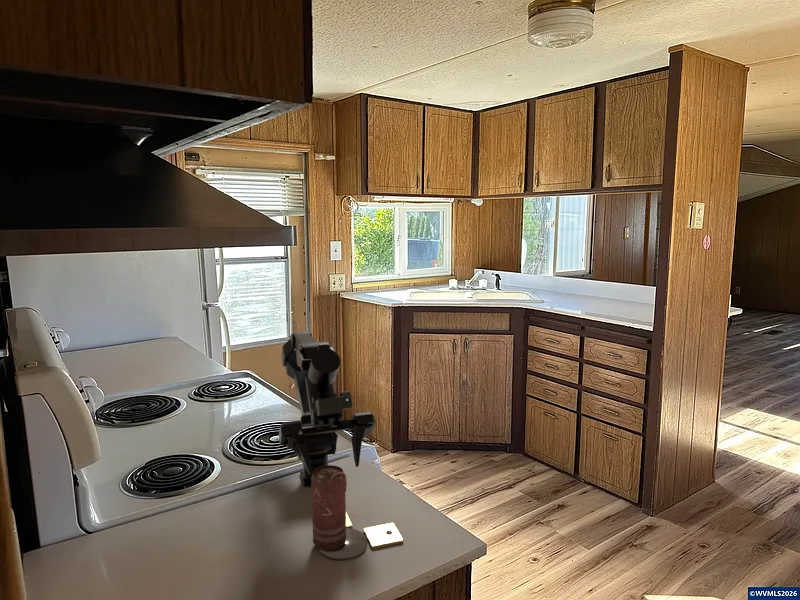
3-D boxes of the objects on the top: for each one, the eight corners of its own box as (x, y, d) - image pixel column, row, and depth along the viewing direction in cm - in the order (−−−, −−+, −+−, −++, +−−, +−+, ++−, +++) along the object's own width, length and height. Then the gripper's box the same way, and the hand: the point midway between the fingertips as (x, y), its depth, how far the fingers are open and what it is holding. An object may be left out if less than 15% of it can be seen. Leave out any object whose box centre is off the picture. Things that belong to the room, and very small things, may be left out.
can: (347, 551, 99) (346, 479, 97) (312, 552, 99) (309, 480, 96) (347, 531, 105) (346, 463, 103) (314, 533, 105) (312, 464, 102)
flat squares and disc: (308, 518, 111) (308, 515, 111) (381, 505, 116) (381, 502, 116) (323, 564, 97) (323, 561, 96) (405, 547, 101) (405, 543, 101)
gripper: (278, 383, 105) (288, 462, 97) (372, 373, 111) (389, 447, 103) (275, 408, 114) (284, 483, 105) (362, 398, 120) (377, 468, 111)
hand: (334, 470), depth 106 cm, fingers open, 9 cm apart
